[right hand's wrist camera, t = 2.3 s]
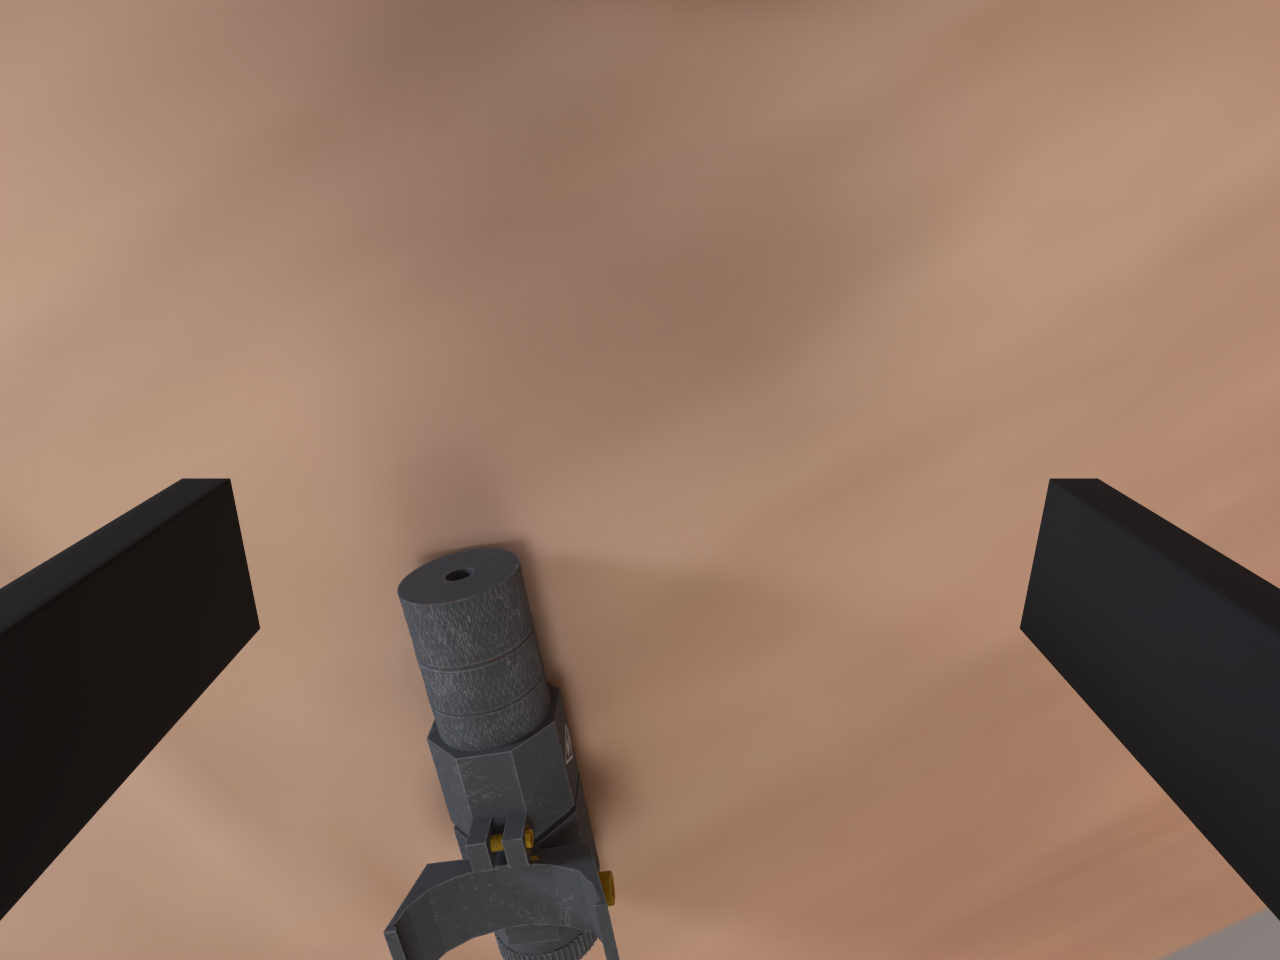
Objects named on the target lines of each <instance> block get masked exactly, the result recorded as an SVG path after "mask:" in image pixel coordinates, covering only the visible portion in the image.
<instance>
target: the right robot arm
mask: <svg viewBox="0 0 1280 960" xmlns="http://www.w3.org/2000/svg"><path fill="white" fill-rule="evenodd" d="M259 629H260V625H259V620H258V615H257V610H256V605H255V600H254V595H253V590H252V585H251V580H250V575H249V570H248V565H247V560H246V555H245V550H244V545H243V540H242V535H241V530H240V525H239V520H238V515H237V510H236V505H235V500H234V495H233V490H232V485H231V480H230V479H181V480H179V481H178V482H176V483H174V484H173V485H171V486H169V487H168V488H166V489H164V490H163V491H161V492H159V493H158V494H156V495H154V496H153V497H151V498H149V499H148V500H146V501H145V502H143V503H141V504H140V505H138V506H136V507H135V508H133V509H131V510H130V511H128V512H126V513H125V514H123V515H121V516H120V517H118V518H116V519H115V520H113V521H112V522H110V523H108V524H107V525H105V526H103V527H102V528H100V529H98V530H97V531H95V532H93V533H92V534H90V535H88V536H87V537H85V538H83V539H82V540H80V541H78V542H77V543H75V544H74V545H72V546H70V547H69V548H67V549H65V550H64V551H62V552H60V553H59V554H57V555H55V556H54V557H52V558H50V559H49V560H47V561H45V562H44V563H42V564H41V565H39V566H37V567H36V568H34V569H32V570H31V571H29V572H27V573H26V574H24V575H22V576H21V577H19V578H17V579H16V580H14V581H12V582H11V583H9V584H8V585H6V586H4V587H3V588H1V589H0V920H1V919H2V918H3V917H4V916H5V915H6V914H7V913H8V911H9V910H10V909H11V908H12V907H13V906H14V905H15V904H16V902H17V901H18V900H19V899H20V898H21V897H22V896H23V895H24V893H25V892H26V891H27V890H28V889H29V888H30V887H31V886H32V884H33V883H34V882H35V881H36V880H37V879H38V878H39V877H40V875H41V874H42V873H43V872H44V871H45V870H46V869H47V868H48V866H49V865H50V864H51V863H52V862H53V861H54V860H55V859H56V857H57V856H58V855H59V854H60V853H61V852H62V851H63V850H64V848H65V847H66V846H67V845H68V844H69V843H70V842H71V841H72V839H73V838H74V837H75V836H76V835H77V834H78V833H79V832H80V830H81V829H82V828H83V827H84V826H85V825H86V824H87V823H88V821H89V820H90V819H91V818H92V817H93V816H94V815H95V814H96V812H97V811H98V810H99V809H100V808H101V807H102V806H103V805H104V803H105V802H106V801H107V800H108V799H109V798H110V797H111V796H112V794H113V793H114V792H115V791H116V790H117V789H118V788H119V787H120V785H121V784H122V783H123V782H124V781H125V780H126V779H127V778H128V776H129V775H130V774H131V773H132V772H133V771H134V770H135V769H136V767H137V766H138V765H139V764H140V763H141V762H142V761H143V760H144V758H145V757H146V756H147V755H148V754H149V753H150V752H151V751H152V749H153V748H154V747H155V746H156V745H157V744H158V743H159V742H160V740H161V739H162V738H163V737H164V736H165V735H166V734H167V733H168V731H169V730H170V729H171V728H172V727H173V726H174V725H175V724H176V722H177V721H178V720H179V719H180V718H181V717H182V716H183V715H184V713H185V712H186V711H187V710H188V709H189V708H190V707H191V706H192V704H193V703H194V702H195V701H196V700H197V699H198V698H199V697H200V695H201V694H202V693H203V692H204V691H205V690H206V689H207V688H208V686H209V685H210V684H211V683H212V682H213V681H214V680H215V679H216V677H217V676H218V675H219V674H220V673H221V672H222V671H223V670H224V668H225V667H226V666H227V665H228V664H229V663H230V662H231V661H232V659H233V658H234V657H235V656H236V655H237V654H238V653H239V652H240V650H241V649H242V648H243V647H244V646H245V645H246V644H247V643H248V641H249V640H250V639H251V638H252V637H253V636H254V635H255V634H256V632H257V631H258V630H259ZM1020 629H1021V630H1022V631H1023V632H1024V634H1025V635H1026V636H1027V637H1028V638H1029V639H1030V640H1031V641H1032V643H1033V644H1034V645H1035V646H1036V647H1037V648H1038V649H1039V650H1040V652H1041V653H1042V654H1043V655H1044V656H1045V657H1046V658H1047V659H1048V661H1049V662H1050V663H1051V664H1052V665H1053V666H1054V667H1055V668H1056V670H1057V671H1058V672H1059V673H1060V674H1061V675H1062V676H1063V677H1064V679H1065V680H1066V681H1067V682H1068V683H1069V684H1070V685H1071V686H1072V688H1073V689H1074V690H1075V691H1076V692H1077V693H1078V694H1079V695H1080V697H1081V698H1082V699H1083V700H1084V701H1085V702H1086V703H1087V704H1088V706H1089V707H1090V708H1091V709H1092V710H1093V711H1094V712H1095V713H1096V715H1097V716H1098V717H1099V718H1100V719H1101V720H1102V721H1103V722H1104V724H1105V725H1106V726H1107V727H1108V728H1109V729H1110V730H1111V731H1112V733H1113V734H1114V735H1115V736H1116V737H1117V738H1118V739H1119V740H1120V742H1121V743H1122V744H1123V745H1124V746H1125V747H1126V748H1127V749H1128V751H1129V752H1130V753H1131V754H1132V755H1133V756H1134V757H1135V758H1136V760H1137V761H1138V762H1139V763H1140V764H1141V765H1142V766H1143V767H1144V769H1145V770H1146V771H1147V772H1148V773H1149V774H1150V775H1151V776H1152V778H1153V779H1154V780H1155V781H1156V782H1157V783H1158V784H1159V785H1160V787H1161V788H1162V789H1163V790H1164V791H1165V792H1166V793H1167V794H1168V796H1169V797H1170V798H1171V799H1172V800H1173V801H1174V802H1175V803H1176V805H1177V806H1178V807H1179V808H1180V809H1181V810H1182V811H1183V812H1184V814H1185V815H1186V816H1187V817H1188V818H1189V819H1190V820H1191V821H1192V823H1193V824H1194V825H1195V826H1196V827H1197V828H1198V829H1199V830H1200V832H1201V833H1202V834H1203V835H1204V836H1205V837H1206V838H1207V839H1208V841H1209V842H1210V843H1211V844H1212V845H1213V846H1214V847H1215V848H1216V850H1217V851H1218V852H1219V853H1220V854H1221V855H1222V856H1223V857H1224V859H1225V860H1226V861H1227V862H1228V863H1229V864H1230V865H1231V866H1232V868H1233V869H1234V870H1235V871H1236V872H1237V873H1238V874H1239V875H1240V877H1241V878H1242V879H1243V880H1244V881H1245V882H1246V883H1247V884H1248V886H1249V887H1250V888H1251V889H1252V890H1253V891H1254V892H1255V893H1256V895H1257V896H1258V897H1259V898H1260V899H1261V900H1262V901H1263V902H1264V904H1265V905H1266V906H1267V907H1268V908H1269V909H1270V910H1271V911H1272V913H1273V914H1274V915H1275V916H1276V917H1277V918H1278V919H1279V920H1280V589H1279V588H1277V587H1276V586H1274V585H1272V584H1271V583H1269V582H1268V581H1266V580H1264V579H1263V578H1261V577H1259V576H1258V575H1256V574H1254V573H1253V572H1251V571H1249V570H1248V569H1246V568H1244V567H1243V566H1241V565H1239V564H1238V563H1236V562H1235V561H1233V560H1231V559H1230V558H1228V557H1226V556H1225V555H1223V554H1221V553H1220V552H1218V551H1216V550H1215V549H1213V548H1211V547H1210V546H1208V545H1206V544H1205V543H1203V542H1202V541H1200V540H1198V539H1197V538H1195V537H1193V536H1192V535H1190V534H1188V533H1187V532H1185V531H1183V530H1182V529H1180V528H1178V527H1177V526H1175V525H1173V524H1172V523H1170V522H1168V521H1167V520H1165V519H1164V518H1162V517H1160V516H1159V515H1157V514H1155V513H1154V512H1152V511H1150V510H1149V509H1147V508H1145V507H1144V506H1142V505H1140V504H1139V503H1137V502H1135V501H1134V500H1132V499H1131V498H1129V497H1127V496H1126V495H1124V494H1122V493H1121V492H1119V491H1117V490H1116V489H1114V488H1112V487H1111V486H1109V485H1107V484H1106V483H1104V482H1102V481H1101V480H1099V479H1050V480H1049V485H1048V490H1047V495H1046V500H1045V505H1044V510H1043V515H1042V520H1041V525H1040V530H1039V535H1038V540H1037V545H1036V550H1035V555H1034V560H1033V565H1032V570H1031V575H1030V580H1029V585H1028V590H1027V595H1026V600H1025V605H1024V610H1023V615H1022V620H1021V625H1020Z"/></svg>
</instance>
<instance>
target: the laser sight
mask: <svg viewBox="0 0 1280 960" xmlns="http://www.w3.org/2000/svg"><path fill="white" fill-rule="evenodd" d="M397 591H398V596H399V599H400V602H401V604H402V607H403V611H404V615H405V619H406V622H407V625H408V628H409V631H410V635H411V638H412V641H413V645H414V650H415V654H416V657H417V661H418V664H419V667H420V670H421V673H422V676H423V679H424V683H425V687H426V691H427V695H428V698H429V702H430V705H431V708H432V711H433V714H434V717H435V720H434V723H433V725H432V727H431V730H430V732H429V735H428V737H427V740H428V744H429V747H430V751H431V754H432V757H433V761H434V764H435V767H436V771H437V774H438V777H439V781H440V784H441V787H442V791H443V794H444V797H445V801H446V804H447V807H448V811H449V814H450V818H451V821H452V822H453V823H454V824H455V826H454V831H455V834H456V838H457V841H458V844H459V848H460V851H461V854H462V858H463V860H455V861H447V862H439V863H431V864H427V865H426V867H425V868H424V870H423V871H422V873H421V875H420V876H419V878H418V879H417V881H416V882H415V884H414V885H413V887H412V889H411V890H410V892H409V893H408V895H407V896H406V898H405V900H404V901H403V903H402V904H401V906H400V907H399V909H398V910H397V912H396V914H395V915H394V917H393V918H392V920H391V921H390V923H389V924H388V926H387V928H386V929H385V931H384V932H383V933H384V936H385V939H386V941H387V944H388V947H389V950H390V953H391V956H392V958H393V960H439V959H440V958H441V957H442V956H443V955H444V954H445V953H446V952H448V951H449V950H451V949H453V948H455V947H457V946H459V945H461V944H463V943H465V942H467V941H468V940H470V939H472V938H475V937H478V936H482V935H485V934H489V933H492V932H494V933H495V937H496V940H497V944H498V947H499V950H500V953H501V955H502V957H503V959H505V960H579V959H582V957H583V956H584V955H586V954H587V951H589V950H590V949H591V947H592V946H593V945H594V942H595V941H596V940H597V937H598V938H599V940H600V941H601V942H602V943H603V946H604V950H605V955H606V959H607V960H619V955H618V951H617V947H616V942H615V938H614V933H613V929H612V924H611V920H610V916H609V911H608V907H607V906H614V904H615V890H614V879H613V875H612V872H611V871H605V872H599V866H600V865H599V860H598V856H597V851H596V847H595V842H594V838H593V833H592V829H591V825H590V820H589V816H588V811H587V807H586V802H585V798H584V794H583V789H582V785H581V780H580V776H579V771H578V767H577V762H576V758H575V754H574V749H573V745H572V740H571V736H570V731H569V727H568V723H567V718H566V714H565V709H564V705H563V700H562V696H561V692H560V689H558V688H556V687H554V686H552V685H550V684H548V683H547V681H546V676H545V671H544V665H543V662H542V658H541V654H540V650H539V646H538V642H537V637H536V632H535V627H534V622H533V618H532V615H531V611H530V607H529V603H528V598H527V594H526V590H525V585H524V581H523V577H522V572H521V567H520V562H519V558H518V556H517V555H516V554H514V553H513V552H511V551H508V550H504V549H496V548H484V549H473V550H467V551H462V552H458V553H454V554H450V555H447V556H444V557H441V558H438V559H436V560H433V561H431V562H429V563H427V564H425V565H423V566H421V567H419V568H417V569H416V570H414V571H413V572H411V573H410V574H409V575H407V576H406V577H405V578H404V579H403V580H402V581H401V583H400V584H399V586H398V590H397Z"/></svg>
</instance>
